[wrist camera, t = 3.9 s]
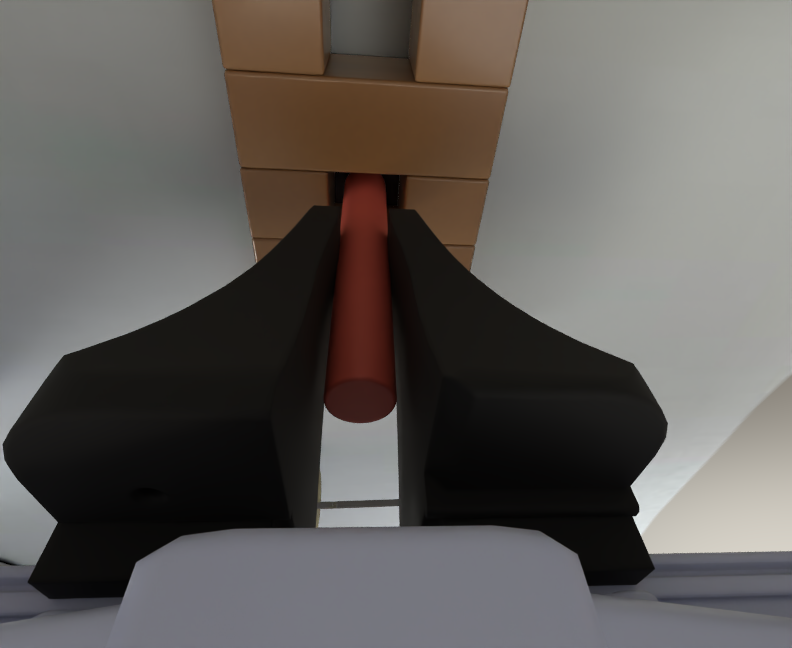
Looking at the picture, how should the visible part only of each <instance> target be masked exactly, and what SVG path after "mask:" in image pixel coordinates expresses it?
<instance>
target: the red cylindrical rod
mask: <svg viewBox="0 0 792 648" xmlns="http://www.w3.org/2000/svg"><path fill="white" fill-rule="evenodd" d="M340 232H341V237H340V248H339V259H338V265H337V270H336V277H335V287H334V297H333V307H332V317H331V327H330V337H329V347H328V357H327V367H326V377H325V387H324V398H323V399H324V404H325V406H326V408H327V410H328V411H329V412H330V413H331V414H332V415H333V416H335V417H337V418H338V419H341V420H343V421H347V422H352V423H369V422H374V421H377V420H380V419H382V418H384V417H386V416H387V415H388V414H390V413H391V412H392V410H393V409H394V407H395V405H396V402H397V389H396V371H395V352H394V334H393V315H392V297H391V279H390V269H389V261H388V242H387V234H388V223H387V205H386V186H385V181H384V179H383V177H382V176H381V174H372V173H350V174H349V175H348V176H347V178H346V180H345V186H344V196H343V206H342V216H341V226H340Z"/></svg>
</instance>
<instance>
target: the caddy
mask: <svg viewBox="0 0 792 648" xmlns="http://www.w3.org/2000/svg"><path fill="white" fill-rule="evenodd" d="M528 1H529V0H412V14H411V27H410V40H409V54H408V56H409V59H405V58H390V57H375V56H360V55H346V54H331V53H330V52H331V18H330V0H212V5H213V11H214V17H215V23H216V29H217V35H218V41H219V47H220V53H221V59H222V65H223V67H224V68H225V69H226V70H225V73H224V76H225V82H226V88H227V94H228V99H229V105H230V111H231V117H232V123H233V129H234V135H235V141H236V147H237V153H238V159H239V164H240V166H241V168H240V173H241V179H242V185H243V191H244V197H245V203H246V209H247V215H248V221H249V227H250V233H251V236H252V237H253V238H252V243H253V249H254V255H255V261H256V263H257V262H258V261H260V260H261V259H262V258H263V257H264V256H265V255H266V254H267V253H269V252H270V251H271V250H272V249H273V248H274V247H275V246H276V245H277V244H278V243H279V242H280V241H281V240H282V239H283V238H284V237H285V236H286V235H287V234H288V233H289V232H290V231H291V230H292V229H293V227H294V226H295V225H296V224H297V223H298V222H299V221H300V220H301V218H302V217H303V216H304V215H305V214H306V213H307V211H308V210H309V209H310V208H311V207H312V206H314V205H318V206H340V226H341V216H342V206H343V203H335V180H334V172H351V173H372V174H392V175H399V188H398V201H397V205H398V206H395V205H387V223H388V218H389V208H391V209H415V210H416V211H417V212H418V214H419V215H420V216H421V217H422V219H423V220H424V221H425V223H426V224H427V225H428V227H429V228H430V229H431V230H432V232H433V233H434V234H435V235H436V237H437V238H438V239H439V240H440V242H441V243H442V244H443V245H444V246H445V247H446V248H447V249H448V251H449V252H450V253H451V254H452V255H453V256H454V257H455V258H456V259H457V260H458V261H459V262H460V263H461V264H462V265H463V266H464V267H465V268H466V269H467V270H468V271H469V272H470V269H471V264H472V259H473V255H474V250H475V246H474V245H475V244H476V241H477V236H478V231H479V227H480V222H481V218H482V213H483V208H484V204H485V199H486V194H487V190H488V185H489V180H488V179H489V177H490V175H491V171H492V166H493V161H494V157H495V152H496V147H497V143H498V138H499V134H500V129H501V124H502V120H503V115H504V110H505V106H506V101H507V96H508V88H507V87H509V86H510V84H511V80H512V75H513V70H514V66H515V61H516V57H517V52H518V47H519V43H520V38H521V33H522V29H523V24H524V19H525V15H526V10H527V6H528Z"/></svg>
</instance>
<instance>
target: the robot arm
mask: <svg viewBox="0 0 792 648" xmlns="http://www.w3.org/2000/svg"><path fill="white" fill-rule="evenodd" d="M340 237H341V232H340V206H318V205H314V206H312V207H311V208H310V209H309V210H308V211H307V213H306V214H305V215H304V216H303V217H302V218H301V220H300V221H299V222H298V223H297V224H296V225H295V226H294V227H293V229H292V230H291V231H290V232H289V233H288V234H287V235H286V236H285V237H284V238H283V239H282V240H281V241H280V242H279V243H278V244H277V245H276V246H275V247H274V248H273V249H272V250H271V251H270V252H269V253H267V254H266V255H265V256H264V257H263V258H262V259H261V260H260V261H258V262H257V263H256V264H255V265H254V266H253V267H251V268H250V269H249V270H247V271H246V272H245V273H243V274H242V275H240V276H239V277H237V278H236V279H235V280H233V281H232V282H230V283H229V284H227V285H226V286H224V287H222V288H221V289H219V290H217V291H216V292H214V293H212V294H210V295H208V296H207V297H205V298H203V299H201V300H200V301H198V302H196V303H194V304H192V305H191V306H189V307H187V308H185V309H183V310H181V311H179V312H177V313H175V314H172V315H170V316H168V317H166V318H164V319H162V320H159V321H157V322H155V323H152V324H150V325H148V326H145V327H143V328H141V329H138V330H136V331H133V332H130V333H128V334H125V335H122V336H120V337H117V338H114V339H111V340H108V341H105V342H102V343H99V344H97V345H94V346H91V347H88V348H85V349H82V350H79V351H76V352H73V353H70V354H67V355H64V356H63V357H62V358H61V360H60V361H59V362H58V363H57V365H56V366H55V367H54V369H53V370H52V372H51V373H50V374H49V376H48V377H47V378H46V380H45V381H44V382H43V384H42V385H41V387H40V388H39V390H38V391H37V392H36V394H35V395H34V397H33V398H32V400H31V401H30V403H29V404H28V405H27V407H26V408H25V410H24V411H23V413H22V414H21V415H20V417H19V418H18V420H17V421H16V423H15V424H14V426H13V427H12V428H11V430H10V432H9V433H8V435H7V437H6V439H5V441H4V443H3V451H4V459H5V461H6V463H7V465H8V467H9V468H10V470H11V471H12V472H13V474H14V475H15V477H16V478H17V480H18V481H19V482H20V483H21V484H22V485H23V486H24V487H25V488H26V489H27V490H28V491H29V492H30V493H31V494H32V495H33V497H34V498H35V499H36V500H37V501H38V502H39V503H40V504H41V505H42V506H43V507H44V508H45V509H46V510H47V511H48V512H49V513H50V514H51V515H52V516H53V517H54V518H55V520H56V521H57V522H58V524H57V526H56V527H55V529H54V531H53V533H52V535H51V537H50V539H49V541H48V543H47V545H46V547H45V549H44V551H43V553H42V555H41V556H40V558H39V560H38V562H37V564H36V565H29V566H0V648H792V551H786V552H785V551H782V552H781V551H780V552H734V553H733V552H732V553H731V552H727V553H674V554H648V551H647V549H646V547H645V544H644V542H643V540H642V538H641V535H640V533H639V531H638V528H637V526H636V524H635V522H634V519H633V517H632V516H636V515H637V514H638V513H639V504H638V502H637V500H636V498H635V496H634V494H633V491H632V489H631V487H630V486H631V485H632V483H633V482H634V481H635V480H636V479H637V477H638V476H639V475H640V474H641V472H642V471H643V470H644V469H645V468H646V466H647V465H648V464H649V463H650V461H651V460H652V459H653V458H654V457H655V455H656V454H657V452H658V450H659V449H660V447H661V445H662V443H663V442H664V440H665V438H666V433H667V425H668V423H667V421H666V418H665V416H664V414H663V411H662V409H661V408H660V406H659V404H658V403H657V401H656V399H655V398H654V396H653V394H652V392H651V391H650V389H649V387H648V386H647V384H646V382H645V381H644V379H643V378H642V376H641V374H640V373H639V371H638V370H637V368H636V367H635V366H634V364H633V363H630V362H628V361H626V360H623V359H621V358H618V357H616V356H613V355H611V354H608V353H606V352H604V351H601V350H599V349H596V348H594V347H591V346H589V345H586V344H584V343H582V342H579V341H577V340H575V339H573V338H571V337H569V336H567V335H565V334H563V333H561V332H559V331H557V330H555V329H553V328H551V327H549V326H547V325H546V324H544V323H542V322H540V321H538V320H537V319H535V318H533V317H531V316H530V315H528V314H527V313H525V312H523V311H522V310H520V309H519V308H517V307H515V306H514V305H512V304H511V303H509V302H508V301H506V300H505V299H503V298H502V297H500V296H499V295H498V294H496V293H495V292H494V291H493V290H491V289H490V288H489V287H487V286H486V285H485V284H484V283H482V282H481V281H480V280H479V279H477V278H476V277H475V276H474V275H473V274H472V273H470V272H469V271H468V270H467V269H466V268H465V267H464V266H463V265H462V264H461V263H460V262H459V261H458V260H457V259H456V258H455V257H454V256H453V255H452V254H451V253H450V252H449V251H448V249H447V248H446V247H445V246H444V245H443V244H442V243H441V242H440V240H439V239H438V238H437V237H436V235H435V234H434V233H433V232H432V230H431V229H430V228H429V227H428V225H427V224H426V223H425V221H424V220H423V219H422V217H421V216H420V215H419V214H418V212H417V211H416V210H415V209H391V208H389V218H388V234H387V242H388V261H389V269H390V279H391V297H392V315H393V334H394V352H395V371H396V389H397V432H398V469H399V520H400V527H334V528H316V517H317V501H318V484H319V468H320V453H321V438H322V424H323V411H324V399H323V398H324V387H325V377H326V367H327V357H328V347H329V337H330V327H331V317H332V307H333V297H334V287H335V277H336V270H337V265H338V259H339V248H340Z"/></svg>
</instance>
